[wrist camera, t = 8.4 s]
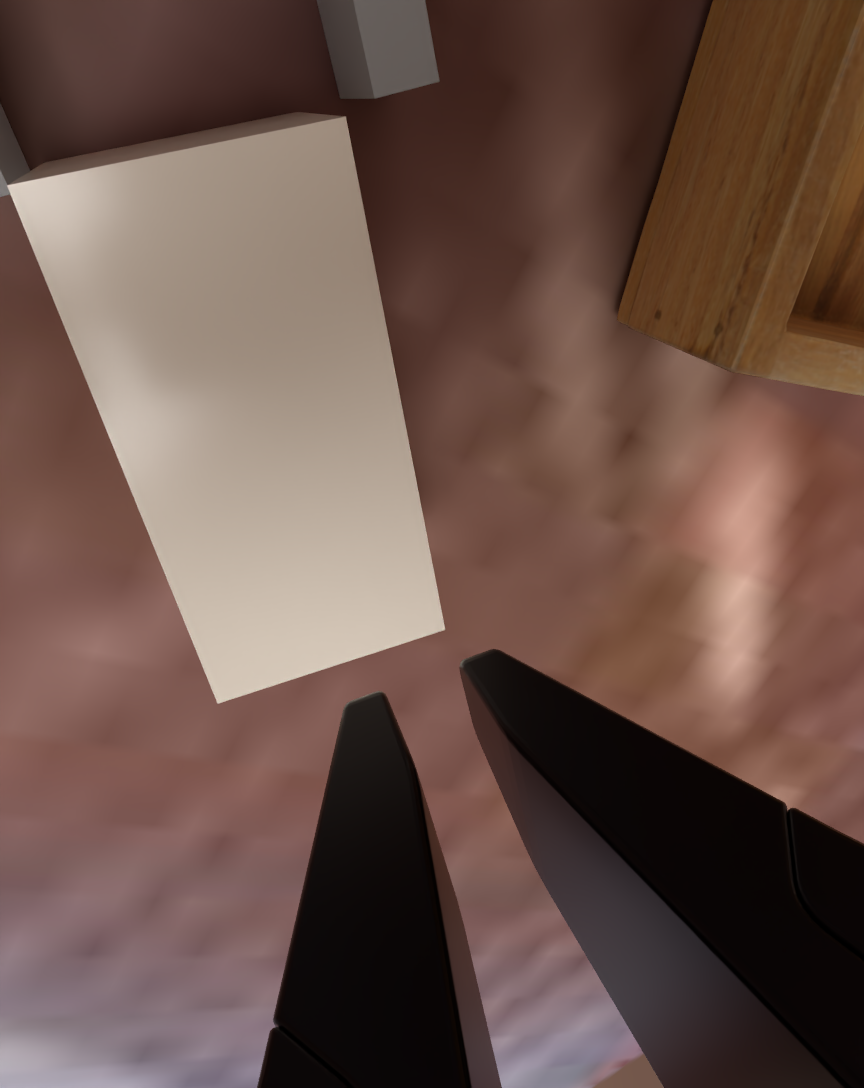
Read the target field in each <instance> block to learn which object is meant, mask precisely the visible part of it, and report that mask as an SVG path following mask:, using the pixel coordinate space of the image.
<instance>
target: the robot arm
mask: <svg viewBox="0 0 864 1088" xmlns="http://www.w3.org/2000/svg"><path fill="white" fill-rule="evenodd" d="M460 674H461V679H462V683H463V687H464V691H465V695H466V699H467V703H468V707H469V711H470V715H471V719H472V723H473V726H474V729H475V732H476V734H477V737H478V740H479V742H480V744H481V747H482V749H483V751H484V753H485V756H486V758H487V760H488V763H489V765H490V767H491V769H492V772H493V774H494V776H495V779H496V781H497V783H498V785H499V788H500V790H501V792H502V795H503V797H504V799H505V802H506V804H507V806H508V808H509V811H510V813H511V815H512V818H513V820H514V822H515V824H516V827H517V829H518V831H519V834H520V836H521V838H522V840H523V843H524V845H525V847H526V849H527V851H528V854H529V856H530V858H531V860H532V862H533V864H534V866H535V868H536V870H537V872H538V874H539V876H540V877H541V879H542V881H543V883H544V885H545V886H546V888H547V890H548V892H549V893H550V895H551V897H552V899H553V900H554V902H555V904H556V905H557V907H558V909H559V910H560V912H561V914H562V916H563V917H564V919H565V921H566V922H567V924H568V926H569V927H570V929H571V931H572V932H573V934H574V936H575V938H576V939H577V941H578V943H579V944H580V946H581V948H582V949H583V951H584V953H585V954H586V956H587V958H588V960H589V961H590V963H591V965H592V966H593V968H594V970H595V971H596V973H597V975H598V977H599V978H600V980H601V982H602V983H603V985H604V987H605V988H606V990H607V992H608V993H609V995H610V997H611V999H612V1000H613V1002H614V1004H615V1005H616V1007H617V1009H618V1010H619V1012H620V1014H621V1015H622V1017H623V1019H624V1021H625V1022H626V1024H627V1026H628V1027H629V1029H630V1031H631V1032H632V1034H633V1036H634V1038H635V1039H636V1041H637V1043H638V1044H639V1046H640V1048H641V1049H642V1051H643V1053H644V1054H645V1056H646V1058H647V1059H648V1061H649V1063H650V1065H651V1066H652V1068H653V1070H654V1071H655V1073H656V1075H657V1076H658V1078H659V1080H660V1082H661V1083H662V1085H663V1087H664V1088H864V844H863V843H861V842H859V841H857V840H855V839H853V838H851V837H849V836H847V835H845V834H843V833H841V832H839V831H837V830H835V829H834V828H832V827H830V826H828V825H826V824H824V823H822V822H820V821H819V820H817V819H815V818H813V817H811V816H809V815H807V814H806V813H804V812H802V811H800V810H798V809H796V808H791V809H789V810H788V812H787V806H786V804H785V803H784V802H782V801H781V800H779V799H777V798H775V797H773V796H771V795H769V794H767V793H766V792H764V791H762V790H760V789H758V788H756V787H754V786H753V785H751V784H749V783H747V782H745V781H743V780H741V779H739V778H738V777H736V776H734V775H732V774H730V773H728V772H726V771H725V770H723V769H721V768H719V767H717V766H715V765H713V764H711V763H710V762H708V761H706V760H704V759H702V758H700V757H698V756H697V755H695V754H693V753H691V752H689V751H687V750H685V749H683V748H682V747H680V746H678V745H676V744H674V743H672V742H670V741H669V740H667V739H665V738H663V737H661V736H659V735H657V734H655V733H654V732H652V731H650V730H648V729H646V728H644V727H642V726H640V725H639V724H637V723H635V722H633V721H631V720H629V719H627V718H626V717H624V716H622V715H620V714H618V713H616V712H614V711H612V710H611V709H609V708H607V707H605V706H603V705H601V704H599V703H598V702H596V701H594V700H592V699H590V698H588V697H586V696H584V695H583V694H581V693H579V692H577V691H575V690H573V689H571V688H570V687H568V686H566V685H564V684H562V683H560V682H558V681H556V680H555V679H553V678H551V677H549V676H547V675H545V674H543V673H542V672H540V671H538V670H536V669H534V668H532V667H530V666H528V665H527V664H525V663H523V662H521V661H519V660H517V659H515V658H514V657H512V656H510V655H508V654H506V653H504V652H502V651H500V650H496V649H492V650H488V651H485V652H483V653H480V654H477V655H475V656H472V657H469V658H466V659H464V660H462V662H461V663H460ZM273 1022H274V1024H275V1026H276V1027H275V1028H273V1029H272V1030H271V1031H270V1033H269V1038H268V1042H267V1046H266V1051H265V1055H264V1060H263V1064H262V1068H261V1073H260V1077H259V1082H258V1086H257V1088H502V1087H501V1083H500V1078H499V1074H498V1070H497V1065H496V1061H495V1057H494V1052H493V1048H492V1044H491V1040H490V1035H489V1031H488V1027H487V1022H486V1018H485V1014H484V1010H483V1005H482V1001H481V997H480V992H479V988H478V984H477V979H476V975H475V971H474V967H473V962H472V958H471V954H470V949H469V945H468V941H467V936H466V932H465V928H464V924H463V920H462V916H461V912H460V909H459V905H458V901H457V898H456V895H455V891H454V888H453V885H452V882H451V879H450V875H449V872H448V869H447V866H446V863H445V859H444V856H443V853H442V850H441V847H440V843H439V840H438V837H437V834H436V831H435V827H434V824H433V821H432V818H431V815H430V811H429V808H428V805H427V802H426V799H425V795H424V792H423V789H422V786H421V783H420V780H419V776H418V773H417V770H416V767H415V764H414V762H413V759H412V756H411V754H410V751H409V749H408V747H407V744H406V742H405V739H404V737H403V735H402V732H401V730H400V727H399V725H398V722H397V720H396V718H395V715H394V713H393V710H392V708H391V705H390V703H389V701H388V698H387V696H386V694H385V693H383V692H381V691H377V692H374V693H371V694H369V695H366V696H363V697H360V698H358V699H355V700H352V701H350V702H348V703H347V704H346V705H345V707H344V710H343V713H342V718H341V722H340V727H339V731H338V735H337V740H336V744H335V749H334V753H333V757H332V762H331V766H330V771H329V775H328V779H327V784H326V788H325V793H324V797H323V802H322V806H321V810H320V815H319V819H318V824H317V828H316V832H315V837H314V841H313V846H312V850H311V854H310V859H309V863H308V868H307V872H306V876H305V881H304V885H303V890H302V894H301V899H300V903H299V907H298V912H297V916H296V921H295V925H294V929H293V934H292V938H291V943H290V947H289V951H288V956H287V960H286V965H285V969H284V973H283V978H282V982H281V987H280V991H279V995H278V1000H277V1004H276V1009H275V1013H274V1018H273Z"/></svg>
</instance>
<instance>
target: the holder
mask: <svg viewBox="0 0 864 1088" xmlns="http://www.w3.org/2000/svg"><path fill="white" fill-rule="evenodd" d="M317 4H318V8H319V12H320V17H321V21H322V25H323V29H324V33H325V38H326V42H327V46H328V50H329V54H330V58H331V63H332V67H333V71H334V75H335V79H336V83H337V88H338V92H339V96H340V99H375V98H379V97H383V96H387V95H391V94H395V93H398V92H402V91H406V90H410V89H414V88H417V87H421V86H425V85H429V84H433V83H436V82H440V81H439V75H438V70H437V64H436V59H435V53H434V47H433V42H432V36H431V31H430V25H429V19H428V14H427V8H426V3H425V0H317ZM28 172H30V169H29V167H28V164H27V162H26V160H25V158H24V155H23V153H22V151H21V149H20V146H19V144H18V142H17V139H16V137H15V135H14V133H13V130H12V128H11V126H10V124H9V121H8V119H7V117H6V115H5V112H4V110H3V108H2V105H1V103H0V197H2V196H6V195H10V192H9V189H8V187H7V185H8V184H10V183H12V182H13V181H15V180H17V179H18V178H20V177H21V176H23V175H25V174H26V173H28Z"/></svg>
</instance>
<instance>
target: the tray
mask: <svg viewBox="0 0 864 1088" xmlns="http://www.w3.org/2000/svg"><path fill="white" fill-rule="evenodd" d="M617 320H618V321H619V322H620V323H623V324H625V325H627V326H629V328H631V329H633V330H636V331H638V332H640V333H642V334H645V335H647V336H649V337H652V338H654V339H656V340H659V341H661V342H663V343H666V344H668V345H670V346H672V347H675V348H677V349H679V350H682V351H684V352H686V353H688V354H691V355H693V356H695V357H698V358H700V359H702V360H705V361H707V362H709V363H712V364H714V365H716V366H719V367H721V368H723V369H726V370H728V371H730V372H733V373H740V374H746V375H751V376H757V377H762V378H767V379H772V380H778V381H783V382H788V383H794V384H800V385H805V386H811V387H816V388H822V389H827V390H833V391H839V392H844V393H850V394H855V395H861V396H864V0H713V2H712V5H711V8H710V12H709V15H708V18H707V22H706V25H705V28H704V32H703V35H702V38H701V41H700V45H699V48H698V51H697V55H696V58H695V61H694V65H693V68H692V71H691V75H690V78H689V81H688V84H687V88H686V91H685V94H684V98H683V101H682V104H681V108H680V111H679V114H678V118H677V121H676V124H675V128H674V131H673V135H672V138H671V141H670V145H669V148H668V151H667V155H666V158H665V161H664V165H663V168H662V172H661V175H660V178H659V181H658V185H657V188H656V191H655V194H654V197H653V200H652V203H651V206H650V209H649V212H648V215H647V218H646V221H645V225H644V228H643V231H642V235H641V238H640V241H639V244H638V248H637V251H636V254H635V258H634V261H633V264H632V268H631V271H630V274H629V277H628V281H627V284H626V287H625V291H624V294H623V297H622V301H621V304H620V307H619V312H618V317H617Z"/></svg>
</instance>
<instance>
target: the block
mask: <svg viewBox="0 0 864 1088" xmlns="http://www.w3.org/2000/svg"><path fill="white" fill-rule="evenodd" d="M7 187H8V189H9V192H10V194H11V197H12V199H13V202H14V204H15V207H16V209H17V211H18V214H19V216H20V219H21V221H22V224H23V226H24V229H25V231H26V234H27V236H28V238H29V241H30V243H31V246H32V248H33V251H34V253H35V256H36V258H37V261H38V263H39V266H40V268H41V270H42V273H43V275H44V278H45V280H46V283H47V285H48V288H49V290H50V293H51V295H52V297H53V300H54V302H55V305H56V307H57V310H58V312H59V315H60V317H61V320H62V322H63V324H64V327H65V329H66V332H67V334H68V337H69V339H70V342H71V344H72V347H73V349H74V352H75V354H76V356H77V359H78V361H79V364H80V366H81V369H82V371H83V374H84V376H85V379H86V381H87V383H88V386H89V388H90V391H91V393H92V396H93V398H94V401H95V403H96V406H97V408H98V411H99V413H100V415H101V418H102V420H103V423H104V425H105V428H106V430H107V433H108V435H109V438H110V440H111V442H112V445H113V447H114V450H115V452H116V455H117V457H118V460H119V462H120V465H121V467H122V469H123V472H124V474H125V477H126V479H127V482H128V484H129V487H130V489H131V492H132V494H133V497H134V499H135V501H136V504H137V506H138V509H139V511H140V514H141V516H142V519H143V521H144V524H145V526H146V528H147V531H148V533H149V536H150V538H151V541H152V543H153V546H154V548H155V551H156V553H157V555H158V558H159V560H160V563H161V565H162V568H163V570H164V573H165V575H166V578H167V580H168V583H169V585H170V587H171V590H172V592H173V595H174V597H175V600H176V602H177V605H178V607H179V610H180V612H181V614H182V617H183V619H184V622H185V624H186V627H187V629H188V632H189V634H190V637H191V639H192V642H193V644H194V646H195V649H196V651H197V654H198V656H199V659H200V661H201V664H202V666H203V669H204V671H205V673H206V676H207V678H208V681H209V683H210V686H211V688H212V691H213V693H214V696H215V698H216V700H217V703H221V702H224V701H227V700H230V699H233V698H237V697H240V696H243V695H246V694H249V693H252V692H255V691H258V690H261V689H264V688H267V687H270V686H273V685H277V684H280V683H283V682H286V681H289V680H292V679H295V678H298V677H301V676H304V675H307V674H310V673H314V672H317V671H320V670H323V669H326V668H329V667H332V666H335V665H338V664H341V663H344V662H347V661H351V660H354V659H357V658H360V657H363V656H366V655H369V654H372V653H375V652H378V651H381V650H384V649H387V648H391V647H394V646H397V645H400V644H403V643H406V642H409V641H412V640H415V639H418V638H421V637H424V636H428V635H431V634H434V633H437V632H440V631H443V630H445V626H444V621H443V616H442V611H441V606H440V601H439V595H438V590H437V585H436V580H435V575H434V570H433V564H432V559H431V554H430V549H429V544H428V539H427V533H426V528H425V523H424V518H423V513H422V508H421V502H420V497H419V492H418V487H417V482H416V477H415V471H414V466H413V461H412V456H411V451H410V446H409V440H408V435H407V430H406V425H405V420H404V415H403V409H402V404H401V399H400V394H399V389H398V384H397V378H396V373H395V368H394V363H393V358H392V353H391V347H390V342H389V337H388V332H387V327H386V322H385V316H384V311H383V306H382V301H381V296H380V291H379V285H378V280H377V275H376V270H375V265H374V260H373V254H372V249H371V244H370V239H369V234H368V229H367V223H366V218H365V213H364V208H363V203H362V198H361V192H360V187H359V182H358V177H357V172H356V167H355V161H354V156H353V151H352V146H351V141H350V136H349V130H348V125H347V120H346V117H345V116H335V115H325V114H314V113H304V112H294V113H289V114H284V115H279V116H274V117H269V118H264V119H259V120H254V121H249V122H244V123H239V124H234V125H229V126H224V127H219V128H214V129H209V130H204V131H199V132H194V133H189V134H184V135H179V136H174V137H169V138H164V139H159V140H154V141H149V142H144V143H139V144H134V145H129V146H124V147H119V148H114V149H109V150H104V151H99V152H94V153H89V154H84V155H79V156H74V157H69V158H64V159H59V160H54V161H49V162H44V163H43V164H41V165H39V166H38V167H36V168H34V169H33V170H31V171H30V172H28V173H26V174H25V175H23V176H21V177H20V178H18V179H17V180H15V181H13V182H12V183H10V184H8V185H7Z"/></svg>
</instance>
